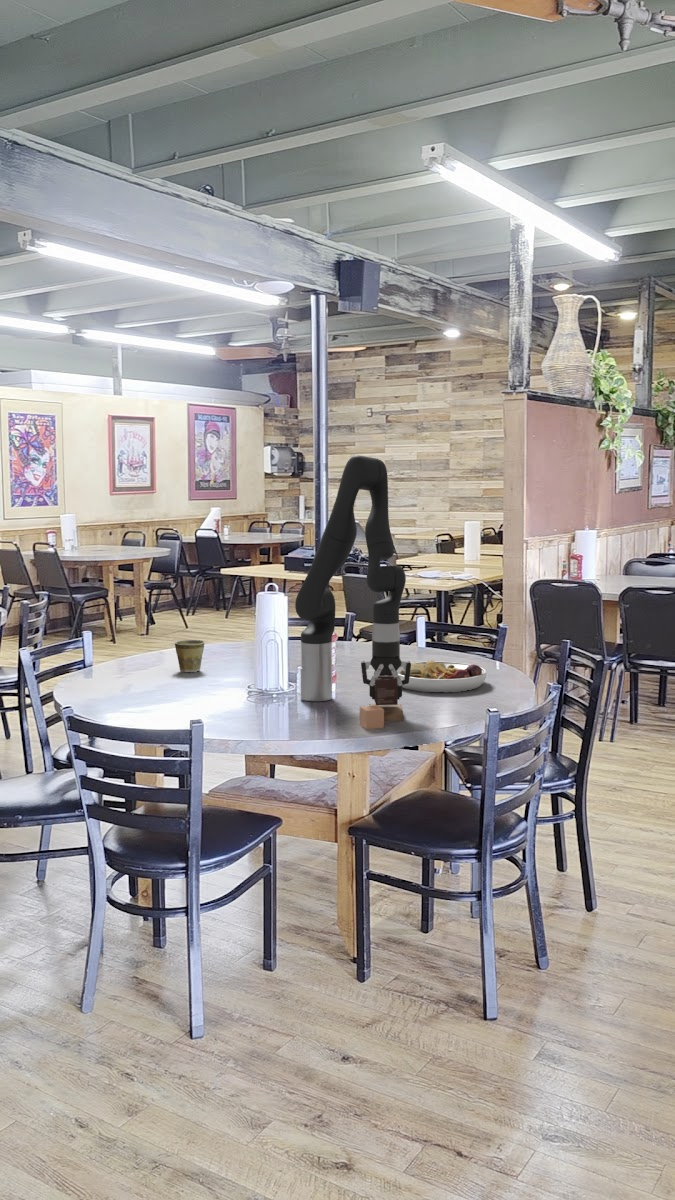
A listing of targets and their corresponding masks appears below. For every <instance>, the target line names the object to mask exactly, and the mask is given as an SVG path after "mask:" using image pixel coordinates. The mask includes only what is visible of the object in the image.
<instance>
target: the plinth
mask: <svg viewBox="0 0 675 1200" xmlns="http://www.w3.org/2000/svg"><path fill="white" fill-rule="evenodd" d="M374 705H376V703H373V704H370V703H369V704H368V706H374ZM378 706H379V707H381V708H383V709H384V722H404V711H403V706H402V704H400V703H398V704H397V705H378Z"/></svg>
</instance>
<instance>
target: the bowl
mask: <svg viewBox="0 0 675 1200" xmlns="http://www.w3.org/2000/svg"><path fill="white" fill-rule="evenodd" d="M410 663H411V669H410V677H409V683H408V684H404V685H403V686H402V689H404V690H405V689H406V690H410V691H413V690H414V691H413V692H420V691H422V692H421V693H430V692H453V693H462V692H461V691H463V692H467V690H469V691H472V689H473V690H475V689H477V688H479V687H481V686H482V685H483V683H484V682H485V681H486V678H487V670H486V668H483V667H481V666H479V665H477V664H470V663H463V662H455V661H435V660H427V661H417V662H410ZM397 673H398V675H399V677H400V679H401V680H402V679H404V677H405V669H403V666H402V665H401V666H400V667H399V668H398V670H397Z"/></svg>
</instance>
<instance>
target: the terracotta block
mask: <svg viewBox="0 0 675 1200" xmlns="http://www.w3.org/2000/svg"><path fill="white" fill-rule="evenodd" d="M359 725H360V726H361V727H362V728H363V729H365V730H368V729H370V730H371V729H384V728H385V721H384V709H383V708H381V707H379V706H378V705H374V706H369V705H366V706H365V705H362V706H359Z"/></svg>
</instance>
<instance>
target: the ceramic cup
mask: <svg viewBox="0 0 675 1200" xmlns="http://www.w3.org/2000/svg"><path fill="white" fill-rule="evenodd" d="M174 648H175V653H176V656H177V660H178V661H177V662H178V666H179V670H180V672H181V671H182V672H181V673H184V672H195V673H198V672H197V671H199V670H201V668H202V660H203V653H204V649H205V641H203V640H197V639H184V640H183V639H182V640H178V641H175V642H174ZM199 672H200V671H199Z"/></svg>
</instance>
